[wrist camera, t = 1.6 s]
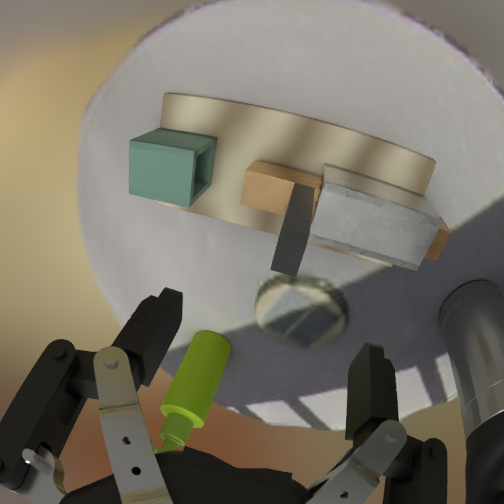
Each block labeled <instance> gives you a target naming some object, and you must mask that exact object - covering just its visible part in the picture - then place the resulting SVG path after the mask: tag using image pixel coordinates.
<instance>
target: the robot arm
mask: <svg viewBox="0 0 504 504" xmlns="http://www.w3.org/2000/svg"><path fill="white" fill-rule="evenodd" d="M182 304H183V294H182V292H179V291H176V290H173V289H170V288H167V287H166V288H164V289H163V291H162V292H161V294H160V295H159V297H155V296H152V295H151V296H149V297H148V298H146V299H144V300H143V301H141V303H140V304H139V306H138V307H137V309H136V310H135V312H134V313H133V314H132V316H131V318H130V319H129V320H128V322H127V323H126V325H125V326H124V327H123V329H122V330H121V332H120V333H119V335H118V336H117V338H116V339H115V341H114V342H113V344H112V345H111V346H110V347H105V348H102V349H101V350H99V351H98V352H89V351H83V350H76V349H75V347H74V345H73V344H72V343H71V342H69V341H68V340H64V339H58V340H55V341H53V342H51V343H50V344H49V345H48V346H47V347H46V349H45V350H44V352H43V353H42V355H41V356H40V358H39V359H38V361H37V362H36V364H35V365H34V367H33V368H32V370H31V371H30V373H29V374H28V376H27V378H26V379H25V381H24V382H23V384H22V386H21V387H20V389H19V391H18V392H17V394H16V396H15V397H14V399H13V401H12V402H11V404H10V406H9V408H8V409H7V411H6V413H5V415H4V417H3V418H2V420H1V422H0V485H1V486H3V487H4V488H5V489H7V490H10V491H12V492H14V493H16V494H19V495H21V496H22V497H23V498H25V499H26V500H28V501H29V502H31V503H32V504H362V503H363V502H364V501H365V500H366V499H367V498H368V497H369V496H370V494H371V493H372V492H373V491H374V490H375V489H376V487H377V486H378V484H379V482H380V481H379V478H380V476H381V475H383V476H386V479H385V489H384V497H383V504H447V449H446V447H445V445H444V443H443V442H442V441H441V440H439V439H437V438H430V439H428V440H427V441H425V442H423V441H420V440H418V439H416V438H413V437H411V436H409V435H408V434H407V432H406V429H405V428H404V427H403V425H402V424H401V423H400V422H399V417H398V401H397V390H396V382H395V380H396V377H395V369H394V367H393V365H392V363H391V361H390V360H389V359H384V349H383V346H381V345H376V344H371V343H365V344H364V345H363V347H362V348H361V350H360V351H359V353H358V354H357V356H356V357H355V359H354V360H353V361H352V363H351V365H350V368H349V372H348V393H347V416H346V434H345V440H352V441H353V447H352V448H351V449H350V450H349V451H348V452H347V453H346V454H345V455H344V456H343V457H342V458H341V459H340V460H339V461H338V462H337V463H336V464H335V465H334V466H333V467H332V468H331V469H330V470H329V471H327V473H325V474H324V475H323V476H322V477H321V478H319V479H318V480H317V481H316V482H314V483H313V484H312V485H311V486H309V487H308V488H307V489H306V488H305V487H304V486H303V485H301V484H300V483H298V482H297V481H295V480H293V479H291V477H292V473H288V472H283V471H277V470H272V469H267V468H258V469H257V468H254V469H253V468H252V469H251V468H249V469H248V468H236V467H233V466H232V465H229V464H228V463H226V462H224V461H222V460H220V459H219V458H217V457H215V456H213V455H211V454H208V453H205V452H201V451H198V450H195V449H193V448H189V447H187V446H185V448H184V450H183V451H179V450H171V451H164V452H159V453H156V454H155V451H154V448H153V445H152V442H151V439H150V436H149V433H148V430H147V427H146V423H145V420H144V417H143V413H142V409H141V406H140V403H139V398H138V395H137V391H138V389H139V388H140V385H141V384H142V385H145V386H147V387H149V385H150V383H151V381H152V379H153V377H154V375H155V374H156V371H157V370H158V368H159V366H160V364H161V362H162V360H163V358H164V356H165V354H166V352H167V350H168V348H169V347H170V345H171V343H172V341H173V339H174V337H175V335H176V333H177V331H178V329H179V327H180V324H181V321H182ZM439 320H440V325H441V328H442V332H443V335H444V339H445V342H446V346H447V350H448V354H449V358H450V362H451V366H452V370H453V375H454V379H455V384H456V388H457V393H458V398H459V403H460V409H461V415H462V420H463V427H464V434H465V441H466V450H467V458H466V467H465V475H466V477H465V479H466V503H465V504H504V298H502V296H501V294H500V292H499V291H498V289H497V287H496V286H495V285H494V284H492V283H491V282H488V281H482V280H480V281H473V282H470V283H467V284H465V285H463V286H461V287H460V288H458V289H457V290H456V291H454V292H453V293H452V294H451V295H450V296H449V297H448V298H447V300H446V301H445V302H444V304H443V306H442V308H441V311H440V316H439ZM87 398H92V399H98V400H99V402H100V409H99V414H100V420H101V425H102V430H103V434H104V438H105V443H106V447H107V450H108V455H109V459H110V462H111V466H112V469H113V473H114V474H112V475H109V476H107V477H105V478H103V479H100V480H98V481H96V482H93V483H91V484H88V485H86V486H84V487H82V488H78V489H76V490H74V491H71V492H69V493H68V494H67V492H66V491H65V489H64V484H63V479H64V475H65V470H64V466H63V464H62V462H61V461H60V460H59V459H58V458H59V456H60V454H61V452H62V450H63V447H64V445H65V443H66V441H67V439H68V437H69V435H70V433H71V431H72V429H73V426H74V424H75V422H76V420H77V418H78V416H79V414H80V412H81V410H82V408H83V406H84V404H85V402H86V400H87Z"/></svg>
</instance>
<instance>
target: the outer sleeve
mask: <svg viewBox="0 0 504 504" xmlns="http://www.w3.org/2000/svg"><path fill="white" fill-rule="evenodd" d="M321 178H323V185H322V190H321V193H320V197H319V200H318V204H317V207H316V210H315V213H314V217H313V220H312V223H311V227H310V235H309V238H308V240H311V241H315V242H318V243H322V244H325V245H329V246H332V247H336V248H339V249H343V250H346V251H350V252H353V253H357V254H360V255H364V256H367V257H370V258H374V259H377V260H381V261H384V262H387V263H391V264H394V265H397V266H401V267H404V268H407V269H411V270H414V271H417V270H418V268H419V266H420V264H421V262H422V260H423V258H424V256H425V255H426V253H427V251H428V249H429V247H430V245H431V243H432V241H433V239H434V236H435V234H436V232H437V230H438V228H439V226H440V224H441V222H442V221H441V220H440V218H439V217H438V215H437V214H436V212H435V211H434V209H433V208H432V206H431V205H430V203H429V202H428V201H427V199H426V198H425V196H424V195H422V194H419V193H416V192H414V191H411V190H408V189H406V188H403V187H400V186H397V185H394V184H391V183H389V182H386V181H383V180H380V179H377V178H374V177H371V176H368V175H365V174H361V173H358V172H355V171H352V170H349V169H345V168H342V167H339V166H335V165H332V164H329V163H324V167H323V170H322V174H321Z"/></svg>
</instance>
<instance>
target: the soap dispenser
mask: <svg viewBox="0 0 504 504" xmlns="http://www.w3.org/2000/svg"><path fill="white" fill-rule="evenodd" d="M230 352H231V345H230V343H229V342H228V340H227V339H226V338H224V337H223V336H221V335H220V334H218V333H215V332H212V331H200V332H198V333H196V334H195V336H194V338H193V340H192V342H191V344H190V346H189V348H188V350H187V352H186V354H185V356H184V358H183V360H182V362H181V365H180V367H179V369H178V371H177V373H176V375H175V377H174V379H173V382H172V383H171V386H170V388H169V390H168V392H167V394H166V396H165V398H164V401H163V402H162V405H161V407H160V410H161V412H162V413H163V414H164V415H165V416H166V417H167V418H166V420H165V422H164V424H163V427H162V429H161V431H160V434H159V435H160V436H161V438H162V439H163V440H164V442H163V444H162V446H161V449H160V451H159V450H158V449H157V447H156V446H155V445H153V448H154V451H155V454H156V453H159V452H164V451H171V450H176V448H177V446H184V445H185V444H186V441H187V439H188V436H189V434H190V431H191V429H192V428H201V427H202V426H203V425H204V423H205V420H206V418H207V415H208V412H209V410H210V407H211V404H212V401H213V399H214V396H215V393H216V390H217V388H218V385H219V382H220V379H221V377H222V374H223V371H224V368H225V366H226V363H227V360H228V357H229V354H230Z"/></svg>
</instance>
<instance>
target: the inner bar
mask: <svg viewBox="0 0 504 504" xmlns="http://www.w3.org/2000/svg"><path fill="white" fill-rule="evenodd" d="M322 185H323V178H321V177H318V176H314V175H310V174H307V173H303V172H299V171H296V170H292V169H288V168H284V167H280V166H276V165H272V164H268V163H264V162H259V161H255V160H254V161H253V162H252V163H251V164H250V166H249V167H248V168H247V169H246V172H245V177H244V183H243V189H242V194H241V200H240V204H241V205H245V206H249V207H253V208H257V209H261V210H265V211H269V212H272V213H276V214H280V215H284V216H285V217H284V221H283V224H282V227H281V231H280V235H279V239H278V243H277V247H276V250H275V254H274V258H273V262H272V266H271V269H270V270H274V271H277V272H281V273H285V274H288V275H292V276H296V275H297V272H298V269H299V266H300V263H301V260H302V257H303V254H304V251H305V248H306V244H307V241H308V238H309V235H310V227H311V223H312V220H313V217H314V213H315V210H316V207H317V204H318V200H319V197H320V193H321V190H322ZM439 218H440V220H441V221H442V222H441V224H440V226H439V228H438V230H437V232H436V234H435V236H434V239H433V241H432V243H431V245H430V247H429V249H428V251H427V253H426V255H425V256H424V257H425V258H428V259H431V260H434V261H438V259H439V257H440V255H441V253H442V251H443V249H444V247H445V245H446V243H447V241H448V239H449V237H450V235H451V231H450V230H449V228H448V227H447V225H446V224H445V222H444V221H443V219H442V218H441V217H439Z"/></svg>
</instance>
